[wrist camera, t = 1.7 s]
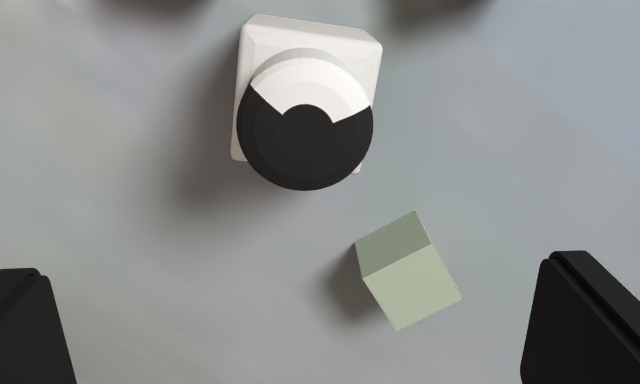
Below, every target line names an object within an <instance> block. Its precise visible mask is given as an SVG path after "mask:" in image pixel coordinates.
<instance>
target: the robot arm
mask: <svg viewBox="0 0 640 384" xmlns="http://www.w3.org/2000/svg"><path fill="white" fill-rule="evenodd" d="M520 375H521V380H522V383H523V384H640V301H639V300H638V299H637V298H635V297H634V296H633V295H632V294H631V293H630V292H629V291H628V290H627V289H626V288H625V287H624V286H623V285H622V284H621V283H620V282H619V281H618V280H617V279H616V278H615V277H613V276H612V275H611V274H610V273H609V272H608V271H607V270H606V269H605V268H604V267H603V266H602V265H601V264H600V263H599V262H598V261H597V260H596V259H595V258H594V257H592V256H591V255H590V254H589V253H588V252H586V251H582V250H580V251H554V252H553V253H551V255H550V256H549V258H548V259H544V260H543V261H542V262H541V264H540V268H539V273H538V278H537V283H536V289H535V294H534V299H533V304H532V309H531V314H530V319H529V324H528V330H527V335H526V340H525V345H524V350H523V355H522V360H521V365H520ZM0 384H77V382H76V378H75V375H74V371H73V367H72V363H71V359H70V356H69V352H68V348H67V344H66V340H65V336H64V333H63V329H62V325H61V321H60V317H59V313H58V310H57V306H56V302H55V298H54V294H53V291H52V287H51V283H50V280H49V278H48V277H47V276H45V275H40V273H39V271H38V270H37V269H35V268H16V269H0Z"/></svg>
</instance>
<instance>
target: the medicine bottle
mask: <svg viewBox="0 0 640 384" xmlns="http://www.w3.org/2000/svg"><path fill="white" fill-rule="evenodd" d="M382 52H383V49H382V46H381V44H380V43H379V42H377V41H376V40H375V39H374V38H373V37H372V36H371V35H369V34H368V33H367V32H366V31H365V30H363V29H358V28H351V27H344V26H338V25H331V24H324V23H318V22H311V21H304V20H298V19H291V18H284V17H277V16H271V15H264V14H254V15H253V16H252V17H251V18H250V19H249V20H248V21H247V22H246V23H245V24H244V25H243V26H242V27H241V30H240V40H239V53H238V65H237V78H236V90H235V103H234V115H233V128H232V140H231V157H232V158H233V159H234V160H237V161H246V162H249V164H250V165H251V166H252V167H253V168H254V170H255V171H257V172H258V173H259V174H260V175H261V176H262V177H264V178H265V179H267V180H268V181H270V182H272V183H274V184H276V185H278V186H281V187H284V188H287V189H292V190H300V191H310V190H317V189H322V188H326V187H329V186H331V185H334V184H336V183H338V182H340V181H341V180H343V179H344V178H346V177H347V176H348V175H349V174H352V175H354V174H357V173H359V171H360V168H361V163H362V160H363V158H364V157H365V155H366V153H367V151H368V149H369V146H370V143H371V139H372V134H373V115H372V105H373V99H374V94H375V89H376V83H377V78H378V73H379V68H380V62H381V57H382Z"/></svg>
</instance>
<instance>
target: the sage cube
mask: <svg viewBox="0 0 640 384" xmlns="http://www.w3.org/2000/svg"><path fill="white" fill-rule="evenodd" d="M355 246H356V251H357V256H358V261H359V265H360V270H361V275H362V279H363V281H364V282H365V284H366V285H367V287H368V288H369V290H370V291H371V293H372V294H373V296H374V297H375V299H376V300H377V302H378V303H379V305H380V306H381V308H382V309H383V311H384V312H385V314H386V316H387V317H388V319H389V320H390V322H391V323H392V325H393V326H394V328H395V329H396V331H398V330H400V329H402V328H404V327H406V326H408V325H410V324H413V323H415V322H417V321H419V320H421V319H423V318H425V317H427V316H429V315H431V314H433V313H435V312H437V311H439V310H441V309H443V308H446V307H448V306H450V305H452V304H454V303H456V302H458V301H460V300H462V299H463V298H462V296H461V294H460V292H459V290H458V288H457V286H456V284H455V282H454V280H453V278H452V276H451V274H450V272H449V270H448V269H447V267H446V265H445V263H444V261H443V259H442V257H441V255H440V254H439V252H438V250H437V248H436V246H435V245H434V243H433V241H432V239H431V238H430V236H429V234H428V232H427V231H426V229H425V227H424V225H423V224H422V222H421V220H420V218H419V217H418V215H417V213H416V211H415V210H414V211H412V212H410V213H408V214H406V215H405V216H403V217H401V218H399V219H397V220H395V221H393V222H391V223H389V224H388V225H386V226H384V227H382V228H380V229H378V230H376V231H374V232H372V233H370V234H369V235H367V236H365V237H363V238H361V239H359V240H357V241H355Z"/></svg>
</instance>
